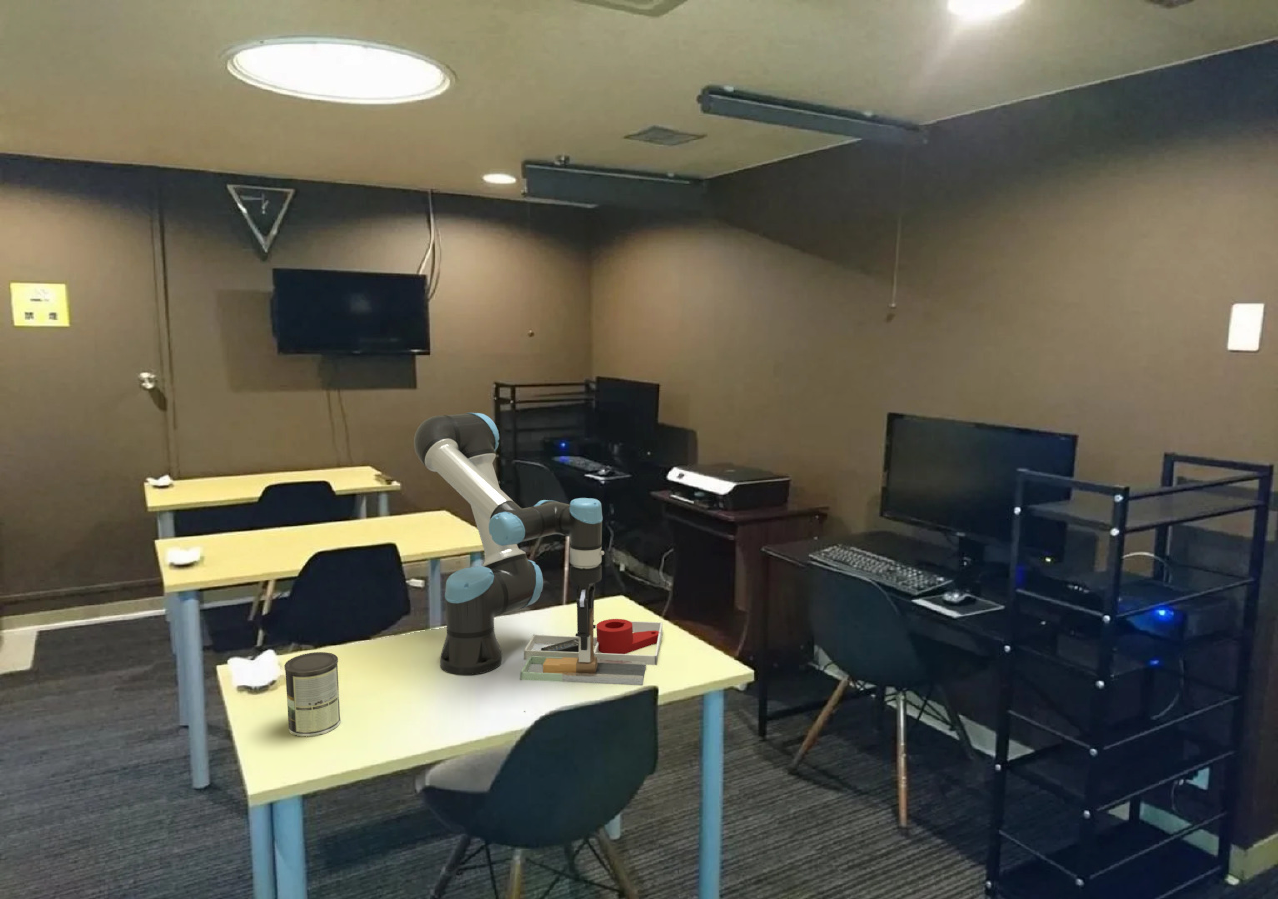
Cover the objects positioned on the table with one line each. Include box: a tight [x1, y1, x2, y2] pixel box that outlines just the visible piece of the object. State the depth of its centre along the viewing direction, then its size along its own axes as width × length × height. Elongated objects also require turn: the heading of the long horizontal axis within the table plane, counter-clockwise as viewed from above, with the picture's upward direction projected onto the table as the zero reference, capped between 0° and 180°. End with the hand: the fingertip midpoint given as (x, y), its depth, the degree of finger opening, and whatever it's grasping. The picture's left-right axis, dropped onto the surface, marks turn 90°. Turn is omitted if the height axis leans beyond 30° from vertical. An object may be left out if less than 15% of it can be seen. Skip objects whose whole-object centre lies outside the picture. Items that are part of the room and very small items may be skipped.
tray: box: [519, 656, 563, 682], centre depth 193 cm, size 10×10×2 cm
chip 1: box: [542, 658, 561, 674], centre depth 192 cm, size 4×4×3 cm
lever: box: [595, 618, 659, 654], centre depth 209 cm, size 18×9×7 cm, turn 117°
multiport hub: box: [540, 639, 579, 652], centre depth 205 cm, size 4×11×2 cm, turn 128°
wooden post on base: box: [576, 608, 597, 674], centre depth 191 cm, size 4×4×15 cm
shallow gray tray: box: [562, 660, 647, 686], centre depth 191 cm, size 19×10×2 cm, turn 85°
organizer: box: [523, 620, 663, 666], centre depth 211 cm, size 34×24×3 cm
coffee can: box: [283, 651, 342, 738], centre depth 166 cm, size 10×10×14 cm
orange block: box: [560, 657, 578, 674], centre depth 192 cm, size 4×4×3 cm
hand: (585, 658), depth 192 cm, fingers closed on wooden post on base, 3 cm apart
